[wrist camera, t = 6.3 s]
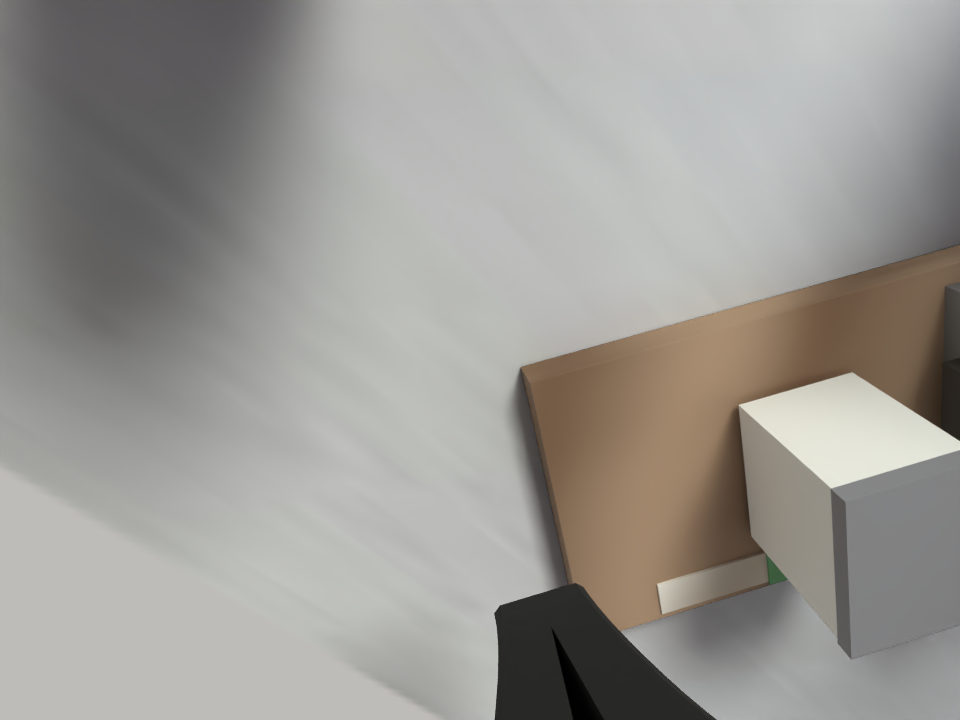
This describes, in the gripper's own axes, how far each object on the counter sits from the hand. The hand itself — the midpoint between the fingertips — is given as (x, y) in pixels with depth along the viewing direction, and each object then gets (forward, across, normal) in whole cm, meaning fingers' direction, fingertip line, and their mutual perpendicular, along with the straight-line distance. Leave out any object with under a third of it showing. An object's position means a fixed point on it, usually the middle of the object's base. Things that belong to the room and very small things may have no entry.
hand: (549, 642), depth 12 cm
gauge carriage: (+7, -8, +4) cm, 11 cm away
